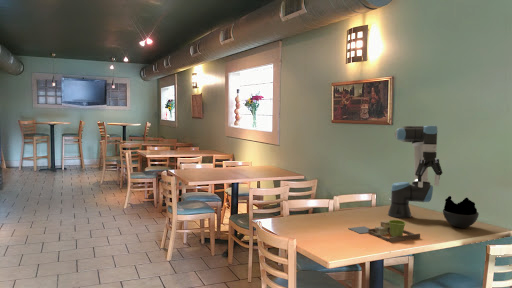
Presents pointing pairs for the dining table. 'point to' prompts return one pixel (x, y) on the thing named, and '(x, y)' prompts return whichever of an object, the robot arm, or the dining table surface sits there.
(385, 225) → the offcut top
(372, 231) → the dark brown tray
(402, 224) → the plant pot
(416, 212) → the dining table surface
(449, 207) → the coal bowl
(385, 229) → the offcut left
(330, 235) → the dining table surface
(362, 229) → the mat
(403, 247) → the dining table surface
